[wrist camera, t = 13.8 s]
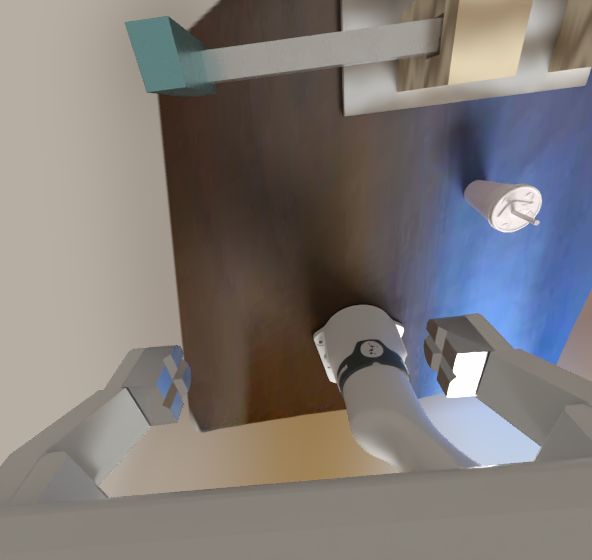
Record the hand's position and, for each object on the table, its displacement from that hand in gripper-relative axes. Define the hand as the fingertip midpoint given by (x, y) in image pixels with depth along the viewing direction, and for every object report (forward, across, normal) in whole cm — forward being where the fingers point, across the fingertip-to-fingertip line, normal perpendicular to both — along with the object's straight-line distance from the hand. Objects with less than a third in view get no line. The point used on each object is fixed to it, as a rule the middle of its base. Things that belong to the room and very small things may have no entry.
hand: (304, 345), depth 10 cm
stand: (+39, +24, +11) cm, 47 cm away
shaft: (+30, +3, +11) cm, 32 cm away
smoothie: (+39, +29, -8) cm, 49 cm away
